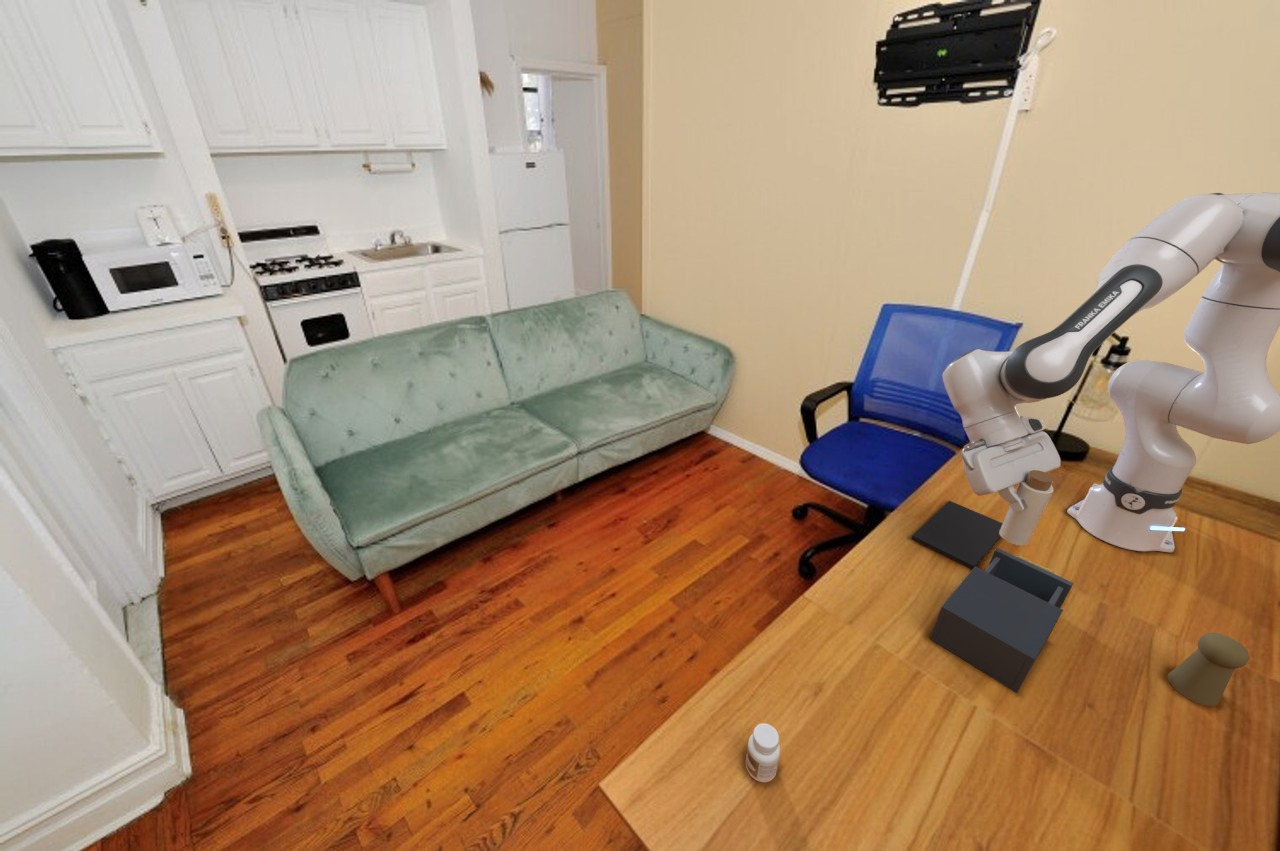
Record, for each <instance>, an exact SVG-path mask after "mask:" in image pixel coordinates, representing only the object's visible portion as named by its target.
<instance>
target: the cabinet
mask: <svg viewBox="0 0 1280 851" xmlns="http://www.w3.org/2000/svg"><path fill="white" fill-rule="evenodd" d="M1063 611H1064V609H1063V608H1058V607H1056V606H1054V605H1052V604H1050V603H1048V602H1046V601H1044V600H1042V599H1040V598H1038V597H1036V596H1034V595H1032V594H1030V593H1028V592H1026V591H1024V590H1022V589H1020V588H1018V587H1016V586H1014V585H1012V584H1010V583H1008V582H1006V581H1004V580H1002V579H1000V578H998V577H996V576H994V575H992V574H990V573H988V572H986V571H985V570H983V569H982V568H980V567H978V566H976V567H974V568H973V569H971V570H970V571H969V573H968V574H967V575H966V576H965V577H964V579H963V580H962V581H961V582H960V584H958V586H957V587H956V588H955V590H954V591H953V592H952V593H951V594H950V596H949V597H948V598H947V599H946V600H945V602H944V603H942V605H941V606H940V609H939V612H938V615H937V618H936V621H935V623H934V627H933V628H932V631H931V634H930V636H929V640H931V641H933V642H934V643H936V644H937V645H939V646H940V647H941V648H944V649H945V650H947V651H948V652H950V653H952V654H953V655H955V656H957V657H958V658H960V659H961V660H963V661H964V662H966V663H968V664H969V665H971V666H973V667H974V668H976V669H977V670H979V671H981V672H982V673H984V674H985V675H986V676H987V675H988V676H989V677H990V678H992V679H994V680H995V681H997V682H998V683H1000V684H1002V685H1003V686H1005V687H1006V688H1008V689H1010V690H1012V691H1013V692H1015V693H1016V694H1018V692H1019V690H1020V689H1021V687H1022V685H1023V684H1024V682H1025V680H1026V678H1027V677H1028V675H1029V673H1030V671H1031V670H1032V668H1033V666H1034V665H1035V663H1036V661H1037V659H1038V657H1039V656H1040V653H1041V652H1042V651H1043V648H1044V647H1045V645H1046V643H1047V641H1048V639H1049V638H1050V636H1051V634H1052V633H1053V630H1054V628H1055V626H1056V624H1057V623H1058V621H1059V619H1060V618H1061V615H1062V613H1063Z"/></svg>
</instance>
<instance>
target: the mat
mask: <svg viewBox="0 0 1280 851" xmlns="http://www.w3.org/2000/svg"><path fill="white" fill-rule="evenodd" d="M1002 523H1003V522H1001V521H998V520H996V519H993V518H991V517H989V516H987V515H984V514H982V513H979V512H977V511H975V510H973V509H970V508H968V507H966V506H964V505H961V504H959V503H956V502H954V501H951V500H947V502H946V503H945V504H944V505H943V506H942V507H941V508H939V509H938V510H937V511H936V512H935V513H934V514H933V515H932V516H931V517H930V518H929V519H928V520H927V521H926V522H925V523H923V525H921V526H920V527H919V528H918V530H916V531H915V532H914V533H913V534H912V535H911V538H910V539H911V540H913V541H915V542H917V543H919V544H921V545H923V546H925V547H927V548H928V549H931V550H932V551H935V552H936V553H938V554H940V555H942V556H945V557H946V558H949V559H950V560H953V561H955V562H956V563H958V564H961V565H962V566H964V567H966V568H969V569H971V570H972V569H973V568H974V567H978V565H979V564H980V563H981V561H982V560H983V559H984V558H985V556H986V555H987V554H988V553H989V552H990V551H991V549H992V548H993V547H994V545H996V544H997V542H998V541H999V540H1000V539H1001V538H1002V537H1001V536H1000V534H999V530H1000V528H1001V526H1002Z"/></svg>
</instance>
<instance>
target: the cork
mask: <svg viewBox="0 0 1280 851" xmlns="http://www.w3.org/2000/svg"><path fill="white" fill-rule="evenodd" d="M1249 660H1250V655H1249V652H1248V649H1247V648H1246V647H1245V646H1244V645H1243V644H1242V643H1241V642H1239V641H1238V640H1235V639H1234V638H1232V637H1230V636H1228V635H1225V634H1224V633H1223V634H1222V633H1219V632H1207V633H1206V634H1205V633H1204V634H1203V635H1201V636H1200V637H1199V639H1198V641H1197V649H1196V650H1195V651H1194V652H1192V653H1191V654H1190V655H1189V656H1188V657H1187V658H1186V659H1184V660H1183V661H1182V662H1181V663H1180V664H1178V665H1177V666H1176V667H1175V668H1174V669H1173V670H1171V671H1170V672H1169V673H1168V674H1167V680H1168V682H1169V684H1170V686H1171V687H1172V688H1173V689H1174V690H1175V691H1176V692H1177V693H1179V694H1180V695H1182V696H1183V697H1185V698H1186V699H1188V700H1190V701H1192V702H1194V703H1196V704H1199V705H1201V706H1205V707H1215V706H1218V705H1219V703H1220V702H1221V699H1222V697H1223V695H1224V693H1225V691H1226V688H1227V686H1228V684H1229V682H1230V680H1231V678H1232V676H1233V674H1234V671H1235V669H1241V668H1243V667H1245V666H1246V665H1247V663H1249Z"/></svg>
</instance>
